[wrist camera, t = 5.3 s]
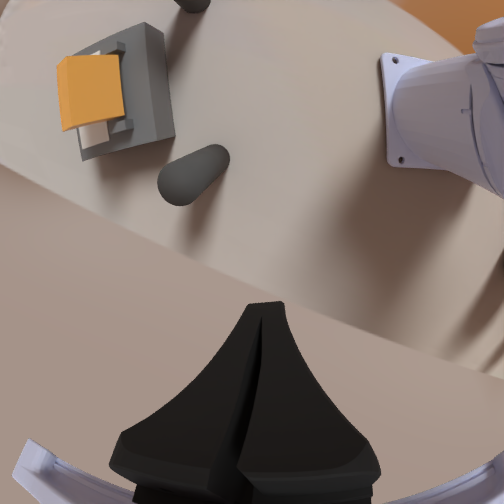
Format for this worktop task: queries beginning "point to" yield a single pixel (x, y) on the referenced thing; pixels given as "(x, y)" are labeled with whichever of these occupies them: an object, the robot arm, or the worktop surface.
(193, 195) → the cylinder
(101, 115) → the breaker paddle
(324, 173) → the worktop surface
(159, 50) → the breaker box
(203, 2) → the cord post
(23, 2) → the worktop surface
